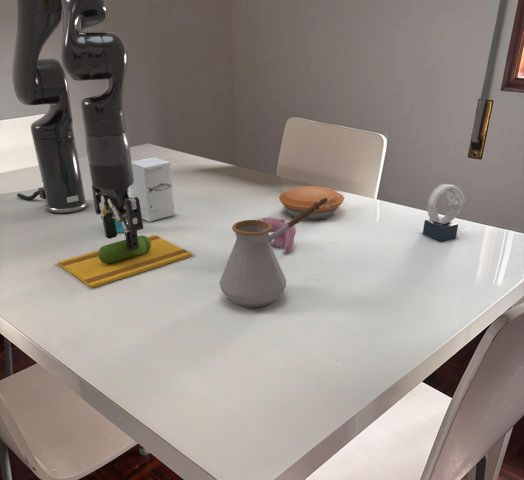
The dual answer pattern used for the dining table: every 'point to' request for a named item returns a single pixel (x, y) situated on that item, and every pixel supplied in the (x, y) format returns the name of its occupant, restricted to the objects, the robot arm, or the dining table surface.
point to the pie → (311, 201)
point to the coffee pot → (256, 262)
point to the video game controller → (284, 237)
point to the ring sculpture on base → (443, 226)
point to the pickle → (122, 250)
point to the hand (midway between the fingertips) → (122, 243)
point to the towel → (122, 263)
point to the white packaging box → (153, 188)
